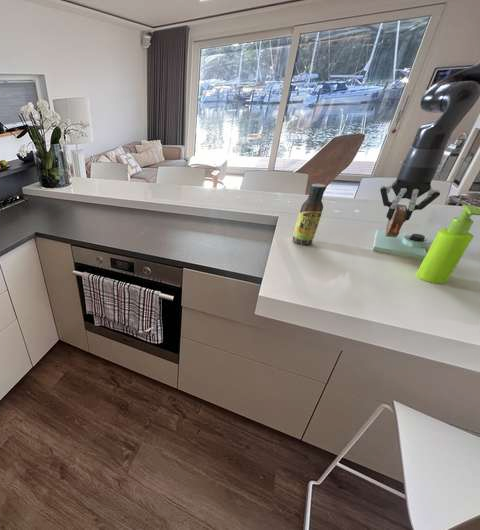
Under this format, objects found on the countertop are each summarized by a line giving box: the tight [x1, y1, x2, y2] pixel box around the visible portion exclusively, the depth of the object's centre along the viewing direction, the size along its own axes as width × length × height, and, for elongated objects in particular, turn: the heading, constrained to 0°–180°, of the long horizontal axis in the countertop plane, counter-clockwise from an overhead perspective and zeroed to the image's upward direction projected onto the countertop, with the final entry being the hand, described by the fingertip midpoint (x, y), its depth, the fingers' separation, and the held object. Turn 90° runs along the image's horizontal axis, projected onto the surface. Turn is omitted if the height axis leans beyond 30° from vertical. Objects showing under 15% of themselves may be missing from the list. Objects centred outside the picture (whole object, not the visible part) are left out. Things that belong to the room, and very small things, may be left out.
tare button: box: [410, 233, 426, 242], centre depth 89 cm, size 3×3×2 cm
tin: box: [385, 203, 408, 237], centre depth 90 cm, size 15×3×8 cm, turn 140°
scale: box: [372, 228, 431, 261], centre depth 92 cm, size 12×16×3 cm
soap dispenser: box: [415, 204, 480, 285], centre depth 72 cm, size 6×7×20 cm
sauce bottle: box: [291, 183, 327, 245], centre depth 95 cm, size 6×6×20 cm
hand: (396, 219), depth 90 cm, fingers closed on tin, 2 cm apart
